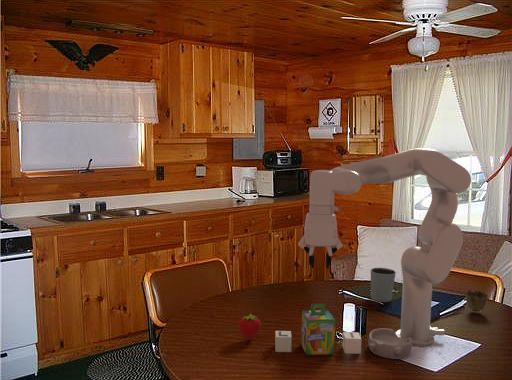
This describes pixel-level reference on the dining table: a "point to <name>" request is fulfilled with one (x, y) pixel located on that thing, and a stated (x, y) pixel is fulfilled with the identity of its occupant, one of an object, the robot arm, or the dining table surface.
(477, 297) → the cup
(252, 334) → the strawberry
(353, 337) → the cream numeral block
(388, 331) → the dish
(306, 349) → the chalk box
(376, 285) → the grey cylinder
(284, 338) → the white marked cube
